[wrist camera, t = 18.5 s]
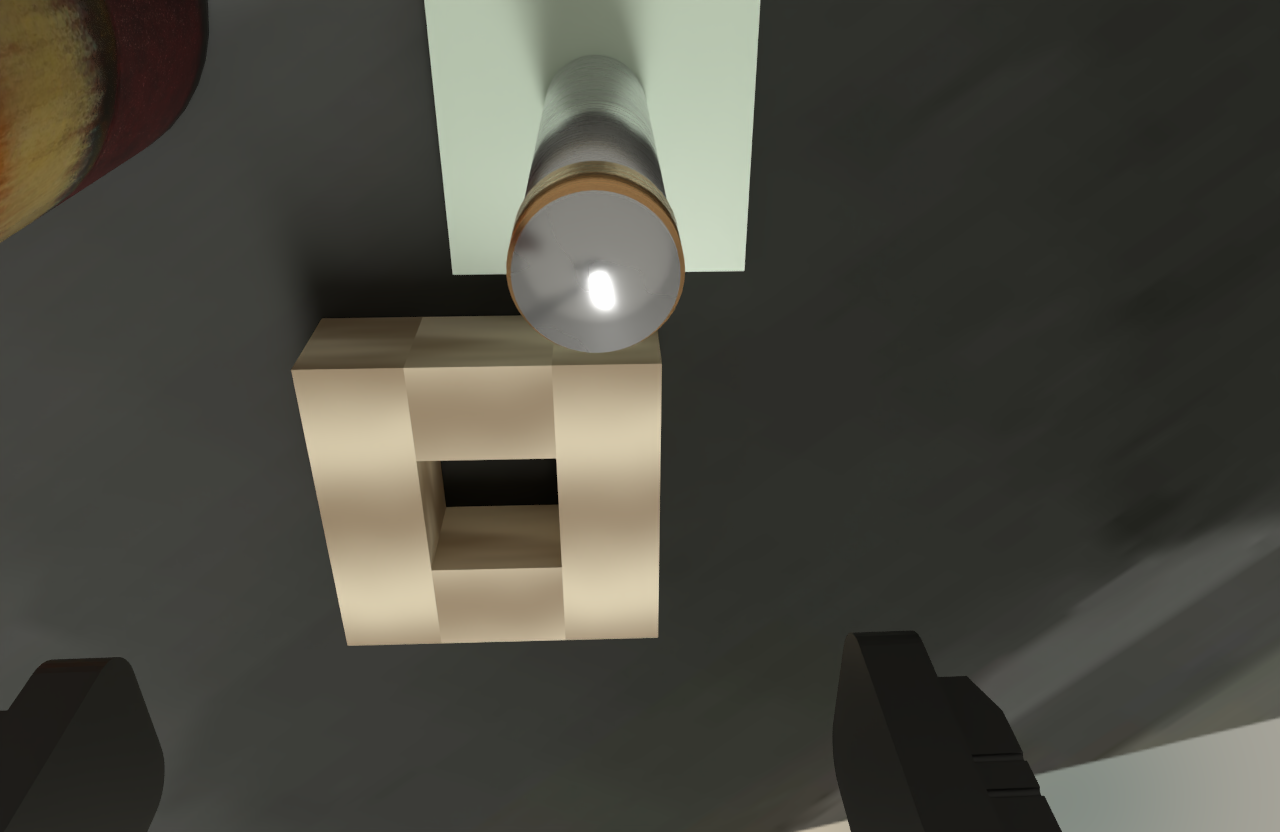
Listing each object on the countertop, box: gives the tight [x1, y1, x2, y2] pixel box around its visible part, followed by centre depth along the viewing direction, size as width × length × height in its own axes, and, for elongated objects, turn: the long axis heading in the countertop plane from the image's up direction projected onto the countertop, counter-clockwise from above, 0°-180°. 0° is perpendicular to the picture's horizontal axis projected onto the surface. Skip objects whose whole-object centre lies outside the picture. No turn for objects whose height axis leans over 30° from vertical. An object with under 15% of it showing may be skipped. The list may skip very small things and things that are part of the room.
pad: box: [424, 0, 760, 275], centre depth 31 cm, size 10×10×1 cm
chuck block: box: [291, 315, 662, 646], centre depth 36 cm, size 12×12×4 cm
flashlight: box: [506, 55, 685, 353], centre depth 24 cm, size 3×3×14 cm
